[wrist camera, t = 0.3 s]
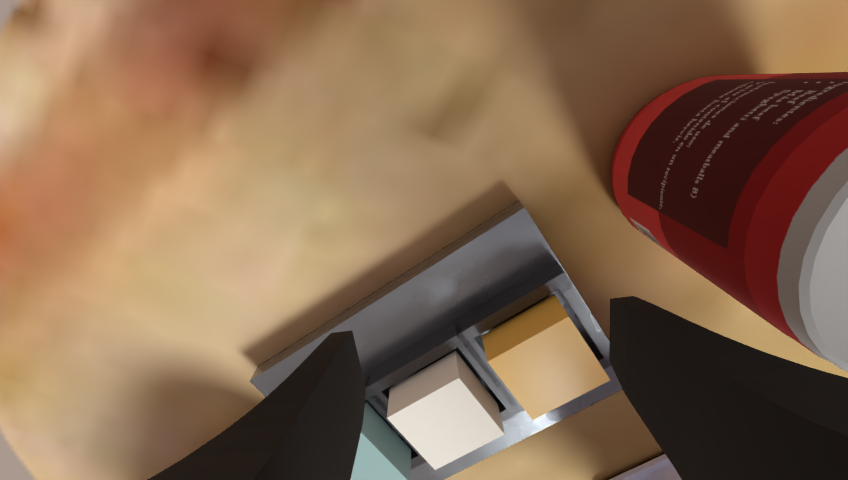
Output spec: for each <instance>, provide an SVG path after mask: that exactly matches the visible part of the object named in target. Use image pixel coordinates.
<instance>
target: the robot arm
mask: <svg viewBox="0 0 848 480" xmlns="http://www.w3.org/2000/svg"><path fill="white" fill-rule="evenodd" d="M609 361H610V364H611V366H612V368H613V370H614V372H615V374H616V376H617V378H618V380H619V382H620V384H621V386H622V388H623V390H624V392H625V394H626V396H627V397H628V399H629V400H630V402H631V403H632V405H633V406H634V408H635V410H636V411H637V413H638V414H639V416H640V417H641V419H642V420H643V422H644V423H645V425H646V426H647V428H648V429H649V431H650V432H651V434H652V435H653V437H654V438H655V440H656V441H657V443H658V444H659V445H660V447H661V448H662V450H663V451H664V453H665V454H663V455H661V456H659V457H657V458H655V459H653V460H650V461H648V462H646V463H644V464H642V465H640V466H637V467H635V468H633V469H631V470H629V471H626V472H624V473H622V474H620V475H618V476H616V477H613V478H611V479H609V480H848V378H845V377H842V376H838V375H834V374H831V373H827V372H823V371H820V370H817V369H813V368H810V367H807V366H804V365H801V364H798V363H795V362H792V361H789V360H786V359H783V358H780V357H777V356H774V355H771V354H768V353H765V352H762V351H760V350H757V349H754V348H752V347H749V346H747V345H744V344H742V343H739V342H737V341H734V340H732V339H729V338H727V337H724V336H722V335H720V334H717V333H715V332H713V331H710V330H708V329H706V328H704V327H701V326H699V325H697V324H695V323H692V322H690V321H688V320H686V319H684V318H682V317H679V316H677V315H675V314H673V313H671V312H669V311H667V310H664V309H662V308H660V307H658V306H656V305H653V304H651V303H649V302H647V301H644V300H642V299H639V298H637V297H634V296H631V297H622V298H614V299H610V353H609ZM365 395H366V387H365V383H364V378H363V374H362V370H361V366H360V361H359V357H358V353H357V348H356V344H355V340H354V335H353V331H352V330H351V331H343V332H335V333H331V334H330V335H329V336H327V337H326V338H325V339H324V340H323V341H322V342H321V344H320V345H319V346H318V347H317V348H316V349H315V350H314V351H313V352H312V353H311V354H310V355H309V356H308V357H307V358H306V359H305V360H304V361H303V362H302V363H301V364H300V365H299V366H298V367H297V368H296V369H295V370H294V371H293V372H292V373H291V374H290V375H289V376H288V377H287V378H286V379H285V380H284V381H283V382H282V383H281V384H280V385H279V386H278V387H276V388H275V389H274V390H273V391H272V392H271V393H270V394H269V395H268V396H267V397H266V398H265V399H264V400H262V401H261V402H260V403H259V404H258V405H257V406H255V407H254V408H253V409H252V410H251V411H249V412H248V413H247V414H246V415H244V416H243V417H242V418H241V419H239V420H238V421H237V422H235V423H234V424H233V425H232V426H230V427H229V428H228V429H226V430H225V431H223V432H222V433H221V434H219V435H218V436H216V437H215V438H213V439H212V440H210V441H209V442H207V443H206V444H204V445H203V446H201V447H200V448H199V449H197V450H196V451H194V452H193V453H191V454H190V455H188V456H187V457H185V458H183V459H182V460H180V461H179V462H177V463H175V464H174V465H172V466H170V467H169V468H167V469H165V470H164V471H162V472H160V473H159V474H157V475H155V476H153V477H152V478H150V479H148V480H350V479H351V475H352V470H353V466H354V462H355V457H356V453H357V448H358V444H359V439H360V434H361V430H362V425H363V417H364V408H365Z"/></svg>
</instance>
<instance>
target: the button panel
mask: <svg viewBox="0 0 848 480" xmlns="http://www.w3.org/2000/svg"><path fill="white" fill-rule="evenodd" d="M553 294H555V295H556V297H557V298H558V300H559V301H560V303H561V304H562V306H563V307H564V309H565V310H566V312H567V313H568V315H569V317H570V318H571V320H572V321H573V323H574V324H575V326H576V327H577V329H578V330H579V332H580V333H581V335H582V336H583V338H584V339H585V341H586V342H587V344H588V346H589V347H590V349H591V350H592V352H593V353H594V355H595V356H596V358H597V360H598V361H599V363H600V364H601V366H602V367H603V369H604V371H605V372H606V374H607V375H608V377H609V379H610V381H608V382H606V383H604V384H602V385H600V386H598V387H596V388H594V389H592V390H590V391H589V392H587V393H585V394H583V395H581V396H579V397H577V398H575V399H573V400H571V401H569V402H567V403H565V404H563V405H561V406H559V407H557V408H555V409H553V410H551V411H550V412H548V413H546V414H544V415H542V416H540V417H538V418H536V419H534V420H532V419H531V418H530V416H529V415H528V414H527V412H526V411H525V410H524V409H523V407H522V406H521V405H520V403H519V402H518V401H517V399H516V398H515V397H514V396H513V394H512V393H511V392H510V390H509V389H508V388H507V386H506V385H505V384H504V383H503V381H502V380H501V379H500V377H499V376H498V375H497V374H496V372H495V371H494V370H493V368H492V367H491V366H490V364H489V363H488V362H487V357H486V353H485V349H484V345H483V340H482V335H484V334H486V333H487V332H489V331H491V330H493V329H494V328H496V327H498V326H500V325H501V324H503V323H505V322H507V321H508V320H510V319H512V318H513V317H515V316H517V315H519V314H520V313H522V312H524V311H526V310H527V309H529V308H531V307H533V306H534V305H536V304H538V303H540V302H541V301H543V300H545V299H547V298H548V297H550V296H552V295H553ZM351 330H352V331H353V335H354V340H355V344H356V348H357V353H358V357H359V361H360V366H361V370H362V374H363V378H364V383H365V387H366V395H365V403H366V402H367V403H368V404H369V405H370V406H371V407H372V408H373V410H374V411H375V412H376V413H377V414H378V415H379V416H380V417H381V418H382V419H383V420H384V421H385V422H386V423H387V425H388V426H389V427H390V428H391V429H392V430H393V431H394V432H395V433H396V434H397V435H398V436H399V437H400V438H401V440H402V441H403V442H404V443H405V444H406V445H407V446H408V447H409V448H410V449H411V475H410V480H444V479H446V478H448V477H450V476H452V475H454V474H456V473H458V472H460V471H462V470H464V469H466V468H468V467H470V466H472V465H474V464H476V463H478V462H480V461H482V460H484V459H486V458H488V457H490V456H492V455H494V454H495V453H497V452H499V451H501V450H503V449H505V448H507V447H509V446H511V445H513V444H515V443H517V442H519V441H521V440H523V439H525V438H527V437H529V436H531V435H533V434H535V433H537V432H539V431H541V430H543V429H545V428H547V427H549V426H551V425H553V424H555V423H557V422H559V421H561V420H563V419H565V418H567V417H569V416H571V415H573V414H575V413H577V412H579V411H581V410H583V409H585V408H587V407H589V406H591V405H593V404H595V403H597V402H599V401H601V400H602V399H604V398H606V397H608V396H610V395H612V394H614V393H616V392H618V391H620V390H622V389H623V388H622V386H621V384H620V382H619V380H618V378H617V376H616V374H615V372H614V370H613V368H612V366H611V364H610V361H609V353H610V341H609V340H608V338H607V336H606V335H605V333H604V332H603V330H602V329H601V327H600V325H599V324H598V322H597V321H596V319H595V317H594V316H593V314H592V313H591V311H590V310H589V308H588V306H587V305H586V303H585V302H584V300H583V298H582V297H581V295H580V294H579V292H578V290H577V289H576V287H575V286H574V284H573V283H572V281H571V279H570V278H569V276H568V275H567V273H566V271H565V270H564V268H563V267H562V265H561V264H560V262H559V260H558V259H557V257H556V256H555V254H554V252H553V251H552V249H551V248H550V246H549V245H548V243H547V241H546V240H545V238H544V237H543V235H542V233H541V232H540V230H539V229H538V227H537V226H536V224H535V222H534V221H533V219H532V218H531V216H530V214H529V213H528V211H527V210H526V208H525V207H524V205H523V204H522V203H521V202H520V201H517V202H516V203H514V204H513V205H511V206H509V207H508V208H506V209H505V210H503V211H502V212H500V213H498V214H497V215H495V216H494V217H492V218H491V219H489V220H487V221H486V222H484V223H483V224H481V225H480V226H478V227H476V228H475V229H473V230H472V231H470V232H469V233H467V234H465V235H464V236H462V237H461V238H459V239H458V240H456V241H454V242H453V243H451V244H450V245H448V246H447V247H445V248H444V249H442V250H440V251H439V252H437V253H436V254H434V255H433V256H431V257H429V258H428V259H426V260H425V261H423V262H422V263H420V264H418V265H417V266H415V267H414V268H412V269H411V270H409V271H407V272H406V273H404V274H403V275H401V276H400V277H398V278H396V279H395V280H393V281H392V282H390V283H389V284H387V285H385V286H384V287H382V288H381V289H379V290H378V291H376V292H374V293H373V294H371V295H370V296H368V297H367V298H365V299H363V300H362V301H360V302H359V303H357V304H356V305H354V306H352V307H351V308H349V309H348V310H346V311H345V312H343V313H341V314H340V315H338V316H337V317H335V318H334V319H332V320H331V321H329V322H327V323H326V324H324V325H323V326H321V327H320V328H318V329H316V330H315V331H313V332H312V333H310V334H309V335H307V336H305V337H304V338H302V339H301V340H299V341H298V342H296V343H294V344H293V345H291V346H290V347H288V348H287V349H285V350H283V351H282V352H280V353H279V354H277V355H276V356H274V357H272V358H271V359H269V360H268V361H266V362H265V363H263V364H261V365H260V366H258V367H257V369H256V371H255V373H254V374H253V376H252V378H251V380H250V382H251V383H252V384H253V385H254V386H255V387H256V388H257V389H258V390H259V391H260V392H261V393H262V394H263V395H264V396H266V397H267V396H268V395H269V394H270V393H271V392H272V391H273V390H274V389H275V388H276V387H278V386H279V385H280V384H281V383H282V382H283V381H284V380H285V379H286V378H287V377H288V376H289V375H290V374H291V373H292V372H293V371H294V370H295V369H296V368H297V367H298V366H299V365H300V364H301V363H302V362H303V361H304V360H305V359H306V358H307V357H308V356H309V355H310V354H311V353H312V352H313V351H314V350H315V349H316V348H317V347H318V346H319V345H320V344H321V342H322V341H323V340H324V339H325V338H326V337H327V336H329V335H330V334H331V333H335V332H343V331H351ZM454 351H456V352H457V353H458V355H459V356H460V357H461V358H462V360H463V361H464V362H465V363H466V365H467V366H468V367H469V368H470V370H471V371H472V372H473V373H474V375H475V376H476V377H477V378H478V380H479V381H480V382H481V384H482V385H483V386H484V387H485V389H486V390H487V391H488V392H489V394H490V395H491V396H492V397H493V399H494V400H495V401H496V402H497V404H498V407H499V412H500V416H501V420H502V424H503V429H504V433H505V435H503V436H501V437H499V438H497V439H495V440H493V441H491V442H489V443H487V444H485V445H483V446H481V447H479V448H477V449H475V450H473V451H471V452H470V453H468V454H466V455H464V456H462V457H460V458H458V459H456V460H454V461H452V462H450V463H448V464H446V465H444V466H442V467H440V468H438V469H436V470H434V468H433V467H432V466H431V465H430V464H429V463H428V462H427V461H426V460H425V459H424V458H423V457H422V456H421V454H420V453H419V452H418V451H417V450H416V449H415V448H414V447H413V446H412V445H411V444H410V443H409V442H408V440H407V439H406V438H405V437H404V436H403V435H402V434H401V433H400V432H399V431H398V430H397V429H396V428H395V426H394V425H393V424H392V423H391V422H390V421H389V420H388V419H387V411H388V401H389V392H390V388H392V387H393V386H395V385H397V384H399V383H400V382H402V381H404V380H406V379H407V378H409V377H411V376H413V375H414V374H416V373H418V372H419V371H421V370H423V369H425V368H426V367H428V366H430V365H432V364H433V363H435V362H437V361H439V360H440V359H442V358H444V357H446V356H447V355H449V354H451V353H453V352H454Z"/></svg>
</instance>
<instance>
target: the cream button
mask: <svg viewBox="0 0 848 480" xmlns="http://www.w3.org/2000/svg"><path fill="white" fill-rule="evenodd" d="M387 419H388V420H389V421H390V422H391V423H392V424H393V425H394V426H395V428H396V429H397V430H398V431H399V432H400V433H401V434H402V435H403V436H404V437H405V438H406V439H407V440H408V442H409V443H410V444H411V445H412V446H413V447H414V448H415V449H416V450H417V451H418V452H419V453H420V454H421V456H422V457H423V458H424V459H425V460H426V461H427V462H428V463H429V464H430V465H431V466H432V467H433V468H434V470H436V469H438V468H440V467H442V466H444V465H446V464H448V463H450V462H452V461H454V460H456V459H458V458H460V457H462V456H464V455H466V454H468V453H470V452H471V451H473V450H475V449H477V448H479V447H481V446H483V445H485V444H487V443H489V442H491V441H493V440H495V439H497V438H499V437H501V436H503V435H505V433H504V429H503V424H502V420H501V416H500V412H499V407H498V404H497V402H496V401H495V400H494V399H493V397H492V396H491V395H490V394H489V392H488V391H487V390H486V389H485V387H484V386H483V385H482V384H481V382H480V381H479V380H478V378H477V377H476V376H475V375H474V373H473V372H472V371H471V370H470V368H469V367H468V366H467V365H466V363H465V362H464V361H463V360H462V358H461V357H460V356H459V355H458V353H457V352H456V351H454V352H453V353H451V354H449V355H447V356H446V357H444V358H442V359H440V360H439V361H437V362H435V363H433V364H432V365H430V366H428V367H426V368H425V369H423V370H421V371H419V372H418V373H416V374H414V375H413V376H411V377H409V378H407V379H406V380H404V381H402V382H400V383H399V384H397V385H395V386H393V387H392V388H390V392H389V401H388V411H387Z"/></svg>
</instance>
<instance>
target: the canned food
mask: <svg viewBox="0 0 848 480" xmlns="http://www.w3.org/2000/svg"><path fill="white" fill-rule="evenodd" d="M611 183H612V187H613V192H614V195H615V198H616V201H617V203H618V205H619V207H620V209H621V211H622V213H623V215H624V216H625V217H626V218H627V220H628V221H629V222H630V223H631V225H632V226H634V227H635V228H636V229H637V230H639V231H640V232H641V233H643V234H644V235H645V236H647V237H648V238H650V239H651V240H652V241H654V242H655V243H657V244H658V245H660V246H661V247H662V248H664V249H665V250H667V251H668V252H669V253H671V254H672V255H674V256H675V257H677V258H678V259H679V260H681V261H682V262H684V263H685V264H686V265H688V266H689V267H691V268H692V269H694V270H695V271H696V272H698V273H699V274H701V275H702V276H703V277H705V278H706V279H708V280H709V281H711V282H712V283H713V284H715V285H716V286H718V287H719V288H720V289H722V290H723V291H725V292H726V293H728V294H729V295H730V296H732V297H733V298H735V299H736V300H737V301H739V302H740V303H742V304H743V305H745V306H746V307H747V308H749V309H750V310H752V311H753V312H754V313H756V314H757V315H759V316H760V317H761V318H763V319H764V320H766V321H767V322H769V323H770V324H771V325H773V326H774V327H776V328H777V329H778V330H780V331H781V332H783V333H784V334H786V335H787V336H789V337H791V338H792V339H794V340H796V341H797V342H798V343H800V344H801V345H803V346H804V347H806V348H807V349H809V350H810V351H811V352H813V353H814V354H816V355H817V356H819V357H821V358H823V359H825V360H827V361H829V362H832V363H833V364H835V365H836V366H837V367H839V368H840V369H843V370H845V371H847V372H848V72H832V73H792V74H751V75H717V76H710V77H703V78H698V79H695V80H692V81H689V82H686V83H683V84H680V85H678V86H676V87H674V88H673V89H671V90H669V91H667V92H665V93H663V94H661V95H660V96H658V97H656V98H655V99H653V100H652V101H651V102H649V103H648V104H647V105H646V106H644V107H643V108H642V109H641V110H640V111H639V112H638V113H637V114H636V115H635V116H634V117H633V118H632V120H631V121H630V122H629V123H628V125H627V126H626V128H625V130H624V131H623V133H622V134H621V136H620V138H619V141H618V143H617V145H616V148H615V150H614V154H613V159H612V164H611Z"/></svg>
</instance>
